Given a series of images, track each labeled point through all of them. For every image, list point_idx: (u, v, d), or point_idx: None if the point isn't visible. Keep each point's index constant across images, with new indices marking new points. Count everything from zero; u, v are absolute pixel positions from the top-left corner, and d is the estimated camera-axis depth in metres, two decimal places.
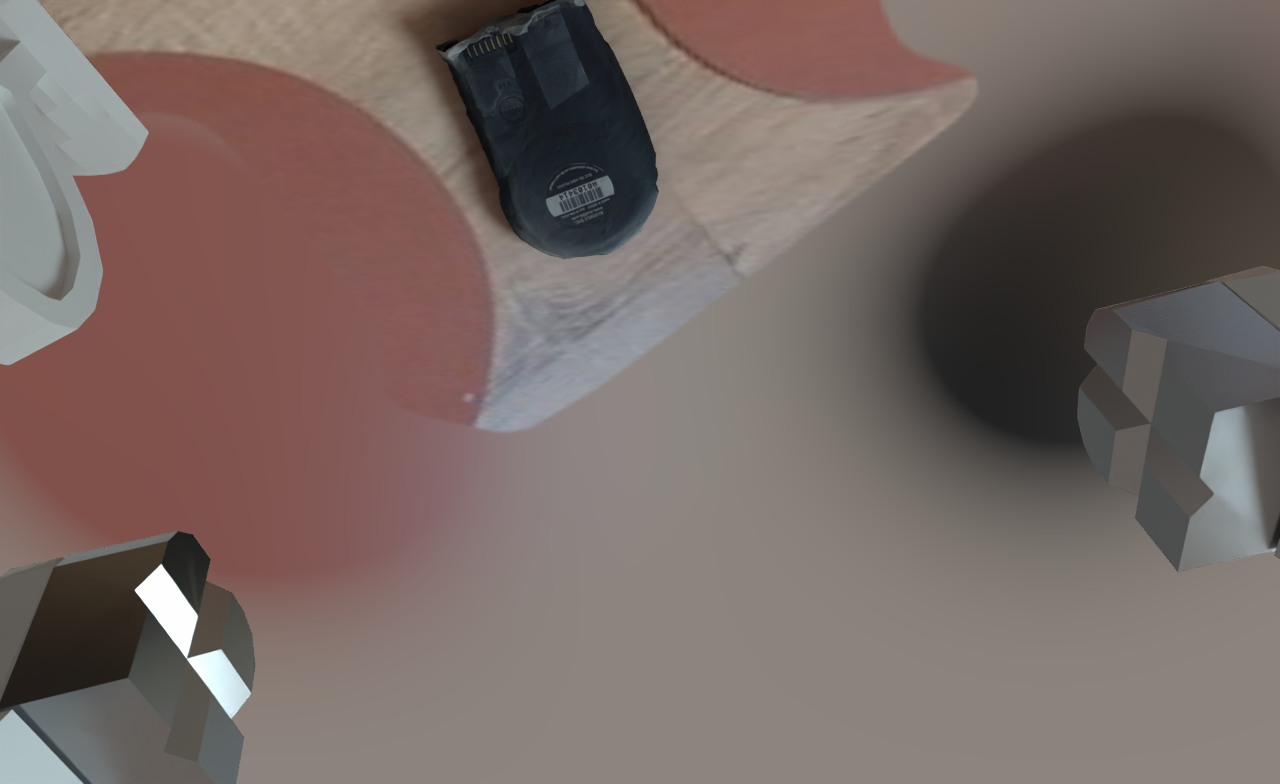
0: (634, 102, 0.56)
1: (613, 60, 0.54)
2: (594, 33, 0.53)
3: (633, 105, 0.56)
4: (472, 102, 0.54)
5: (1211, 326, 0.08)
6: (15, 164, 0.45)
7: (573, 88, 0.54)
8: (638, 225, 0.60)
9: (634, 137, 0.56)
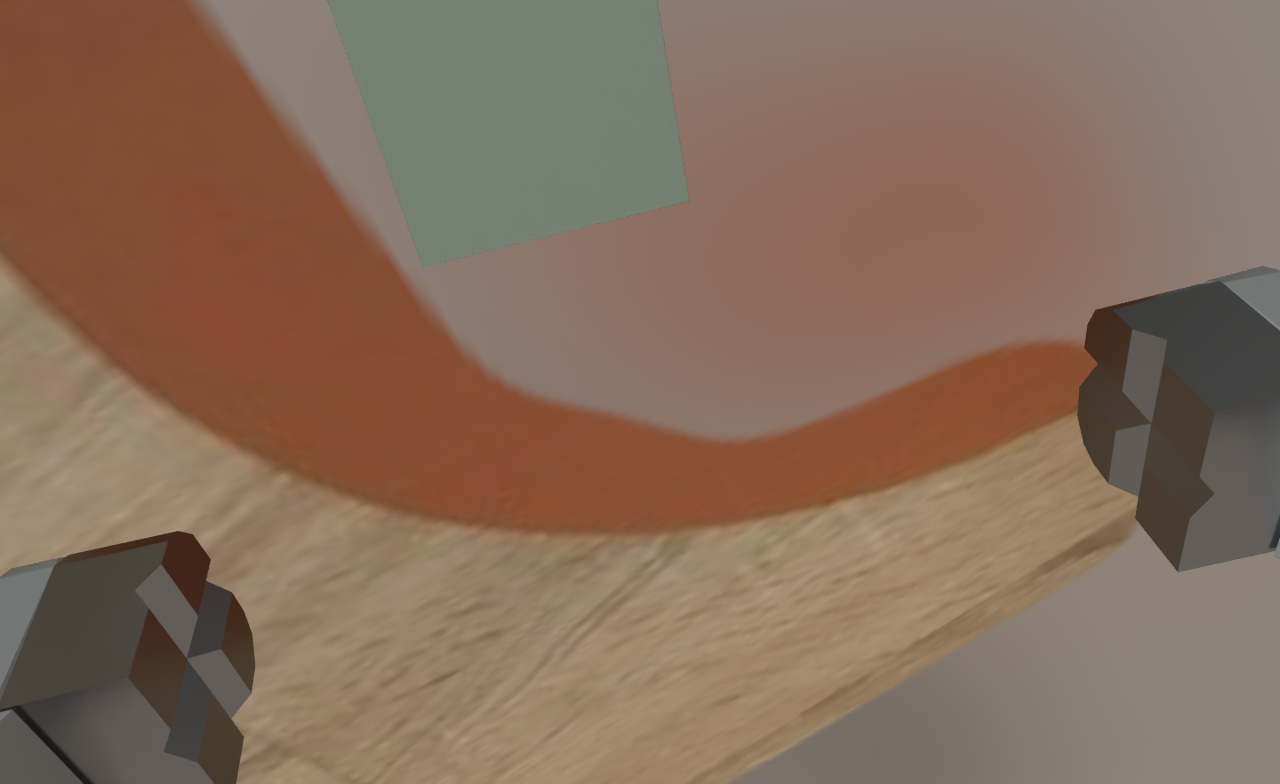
0: None
1: None
2: None
3: None
4: None
5: (1211, 326, 0.08)
6: None
7: None
8: None
9: None
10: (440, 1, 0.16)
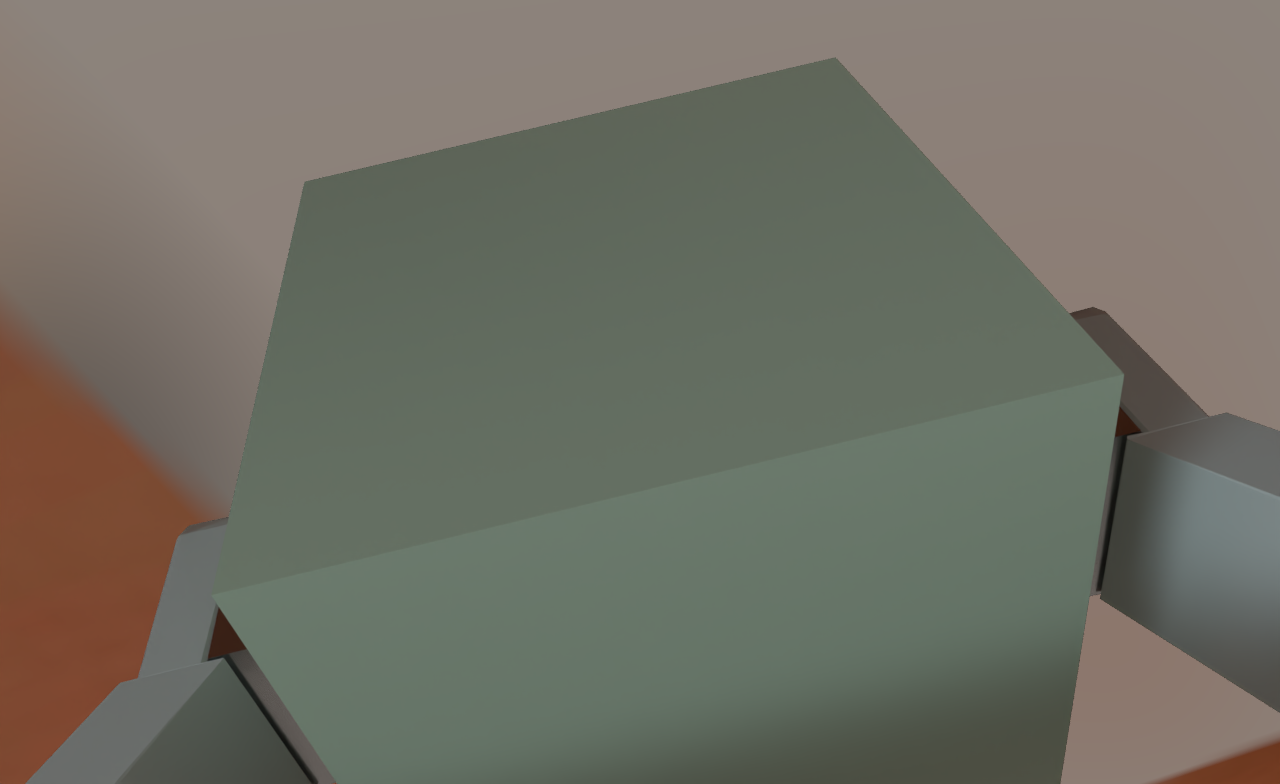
0: None
1: None
2: None
3: None
4: None
5: None
6: None
7: None
8: None
9: None
10: (541, 593, 0.06)
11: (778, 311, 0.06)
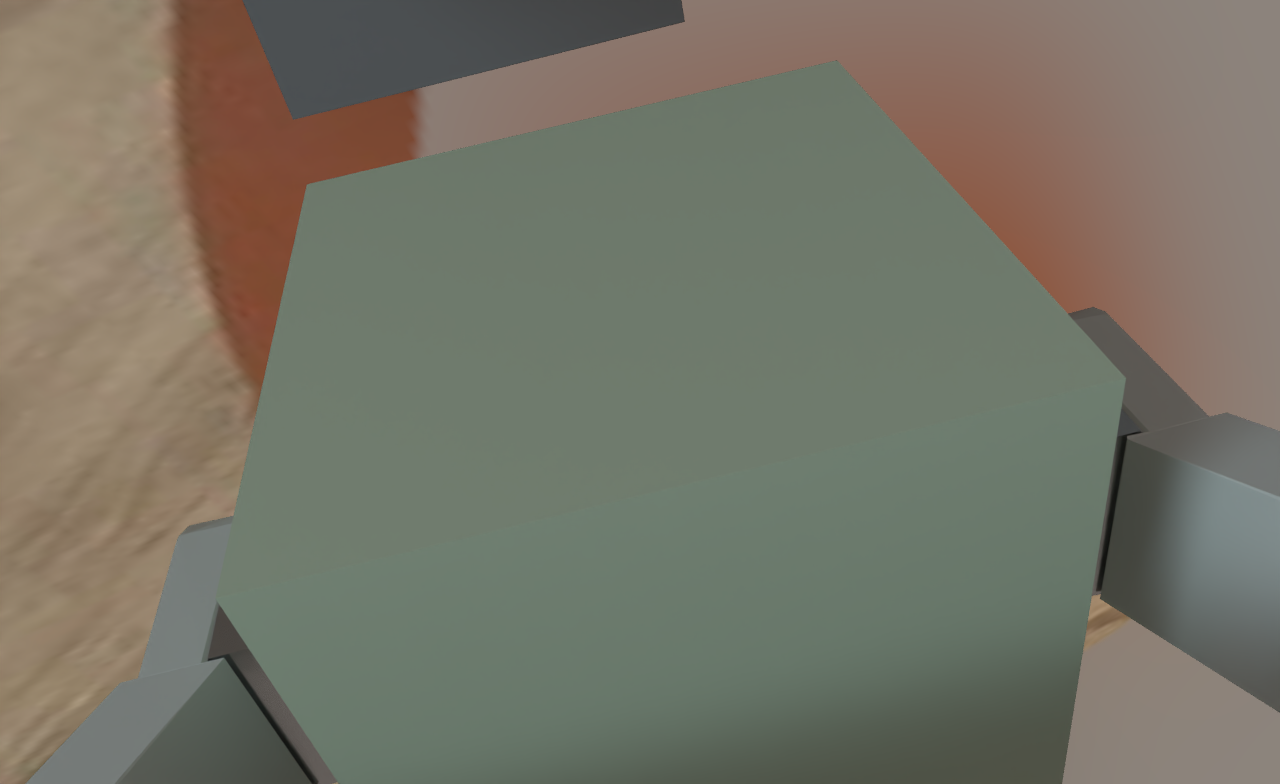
0: None
1: None
2: None
3: None
4: None
5: None
6: None
7: None
8: None
9: None
10: (545, 596, 0.06)
11: (781, 314, 0.06)
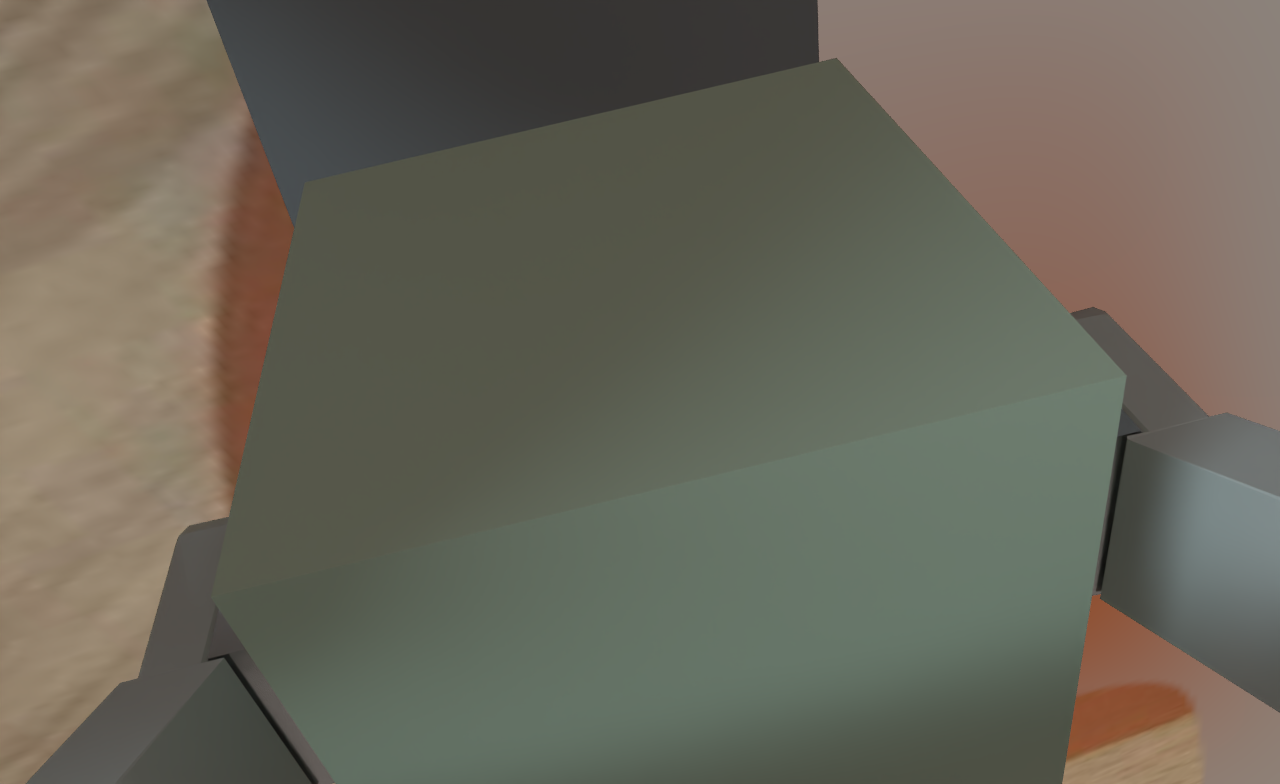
0: None
1: None
2: None
3: None
4: None
5: None
6: None
7: None
8: None
9: None
10: (542, 594, 0.06)
11: (779, 312, 0.06)
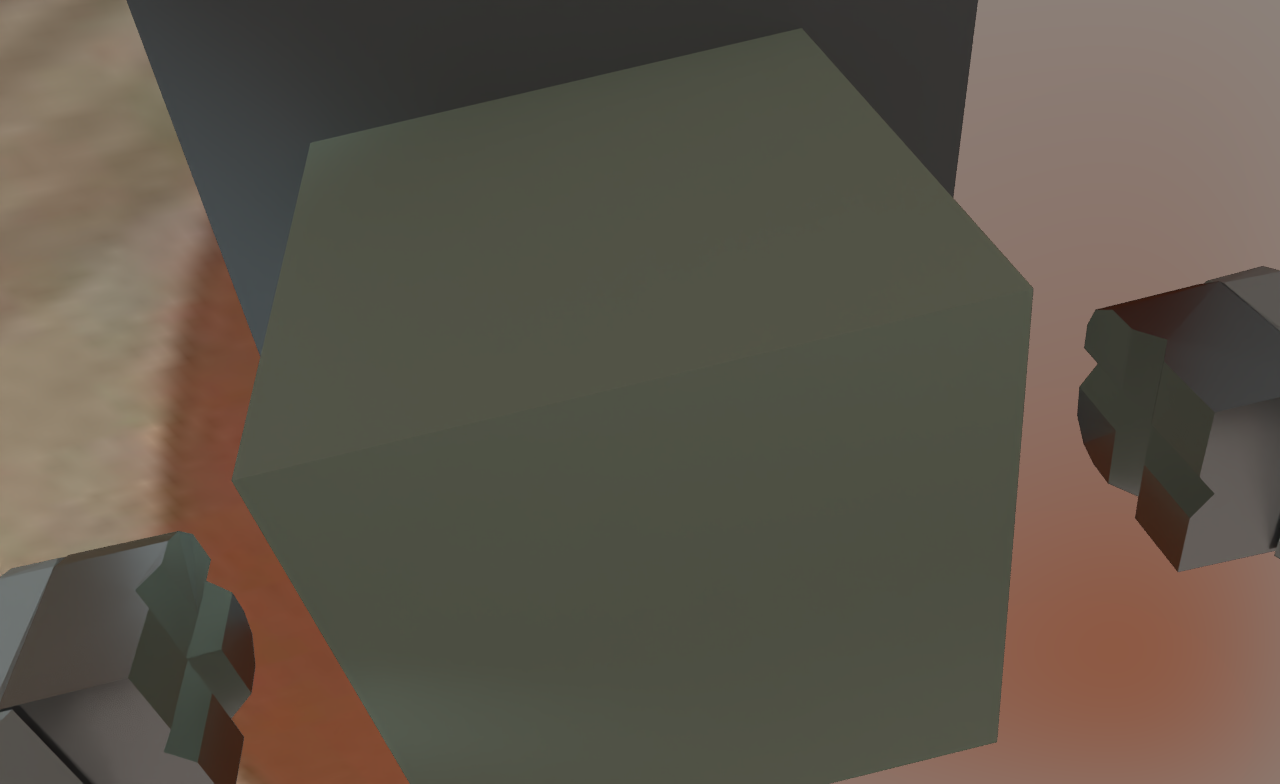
0: None
1: None
2: None
3: None
4: None
5: (1211, 326, 0.08)
6: None
7: None
8: None
9: None
10: (522, 485, 0.07)
11: (736, 243, 0.07)
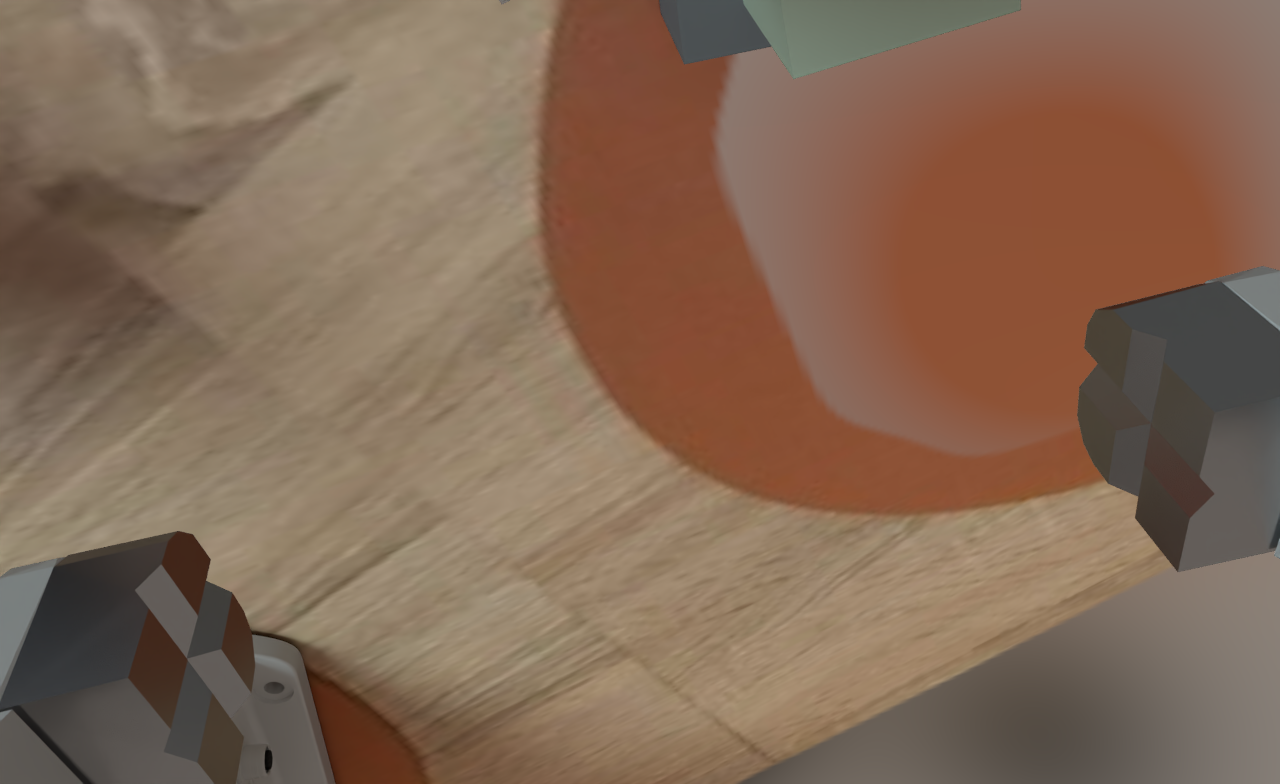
0: None
1: None
2: None
3: None
4: None
5: (1210, 326, 0.08)
6: None
7: None
8: None
9: None
10: None
11: None
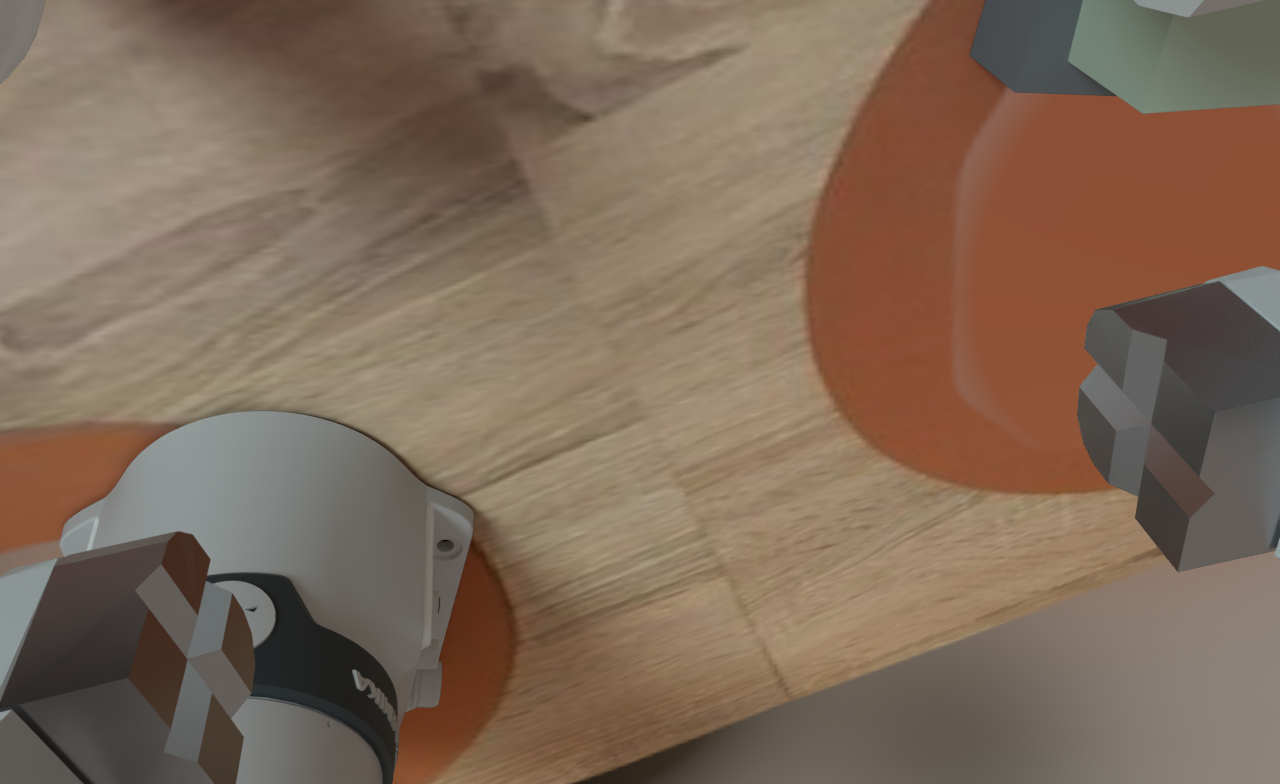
0: None
1: None
2: None
3: None
4: None
5: (1211, 326, 0.08)
6: None
7: None
8: None
9: None
10: None
11: None
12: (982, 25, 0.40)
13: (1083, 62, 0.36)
